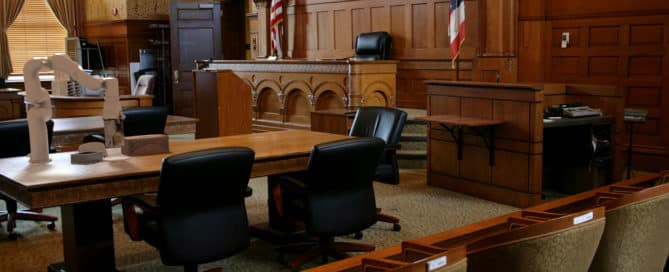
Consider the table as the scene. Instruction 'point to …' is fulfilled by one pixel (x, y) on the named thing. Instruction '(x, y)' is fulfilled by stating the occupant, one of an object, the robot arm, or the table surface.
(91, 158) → the metal bracket
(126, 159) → the felt pad
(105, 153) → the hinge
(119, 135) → the coffee box
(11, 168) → the table surface
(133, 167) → the table surface
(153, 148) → the tissue box cover
